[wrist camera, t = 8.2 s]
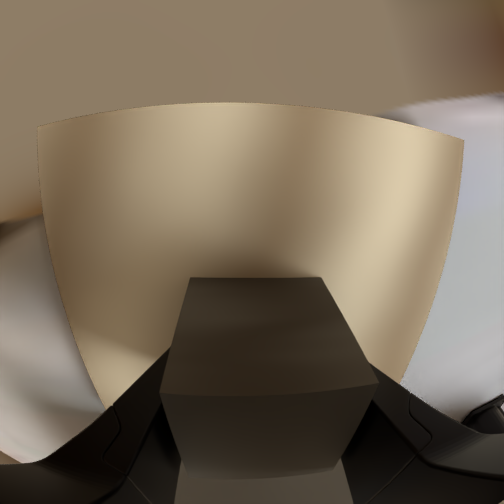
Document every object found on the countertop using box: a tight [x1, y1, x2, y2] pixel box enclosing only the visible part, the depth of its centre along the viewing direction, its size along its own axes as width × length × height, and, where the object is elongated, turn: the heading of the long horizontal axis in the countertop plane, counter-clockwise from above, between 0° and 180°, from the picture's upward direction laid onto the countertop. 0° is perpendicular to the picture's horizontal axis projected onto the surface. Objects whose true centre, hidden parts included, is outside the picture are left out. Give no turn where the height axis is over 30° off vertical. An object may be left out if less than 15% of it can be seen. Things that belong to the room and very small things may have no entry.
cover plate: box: [37, 102, 464, 479], centre depth 8 cm, size 14×14×5 cm
